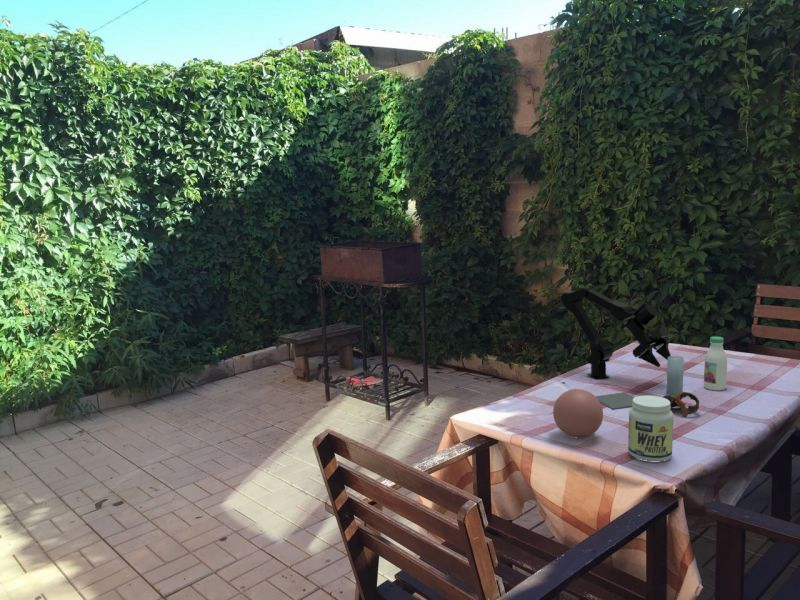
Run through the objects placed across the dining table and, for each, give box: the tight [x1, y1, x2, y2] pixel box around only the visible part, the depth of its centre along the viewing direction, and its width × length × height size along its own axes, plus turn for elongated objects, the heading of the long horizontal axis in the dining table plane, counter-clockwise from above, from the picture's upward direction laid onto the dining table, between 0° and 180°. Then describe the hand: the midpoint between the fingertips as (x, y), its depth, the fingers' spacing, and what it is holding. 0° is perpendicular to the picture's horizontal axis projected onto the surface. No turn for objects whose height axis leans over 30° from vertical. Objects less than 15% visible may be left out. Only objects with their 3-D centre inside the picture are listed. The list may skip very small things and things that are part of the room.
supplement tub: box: [627, 395, 674, 461], centre depth 188 cm, size 12×12×17 cm
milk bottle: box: [703, 336, 728, 392], centre depth 245 cm, size 8×8×20 cm
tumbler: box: [666, 355, 685, 396], centre depth 241 cm, size 6×6×14 cm
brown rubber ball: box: [552, 388, 604, 439], centre depth 207 cm, size 15×20×15 cm
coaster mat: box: [594, 392, 636, 410], centre depth 237 cm, size 14×14×1 cm
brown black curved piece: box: [662, 391, 700, 418], centre depth 223 cm, size 12×10×8 cm
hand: (665, 364), depth 244 cm, fingers open, 9 cm apart
